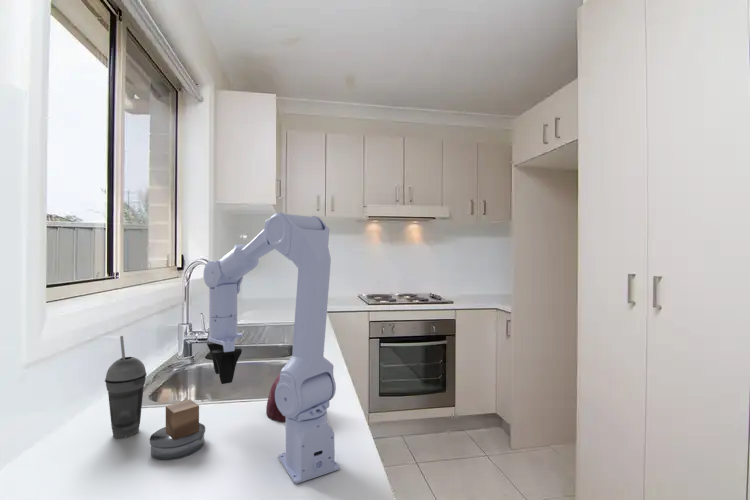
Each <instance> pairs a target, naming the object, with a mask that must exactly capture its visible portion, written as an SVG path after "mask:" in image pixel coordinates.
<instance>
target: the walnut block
mask: <svg viewBox="0 0 750 500" xmlns="http://www.w3.org/2000/svg"><path fill="white" fill-rule="evenodd" d="M199 423H200V405H199V404H197V403H196V402H194V401H193V400H191V399H186V400H183V401H179V402H175V403H172V404H168V405H165V427H166V433H167V434H168V435H169V436H170V437H171V438H172V439H173V440H175V439H178V438H181V437H184V436H187V435H190V434H193V433H196V432H199Z"/></svg>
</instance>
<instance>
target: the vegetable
mask: <svg viewBox="0 0 750 500" xmlns="http://www.w3.org/2000/svg"><path fill="white" fill-rule="evenodd" d="M279 380H280V373H279V374H278V375H277V377H276V378H275V379H274V382H273V383H272V386H271V388H270V390H269V394H268V397H267V402H266V406H265V407H266V408H265V409H266V411H265V412H266V413H265V414H266V417H267V418H268V419H270V420H271V421H275V422H281V423H286V417H285V416H283V415H282V413H281V412H280V411H279V409H278V407H277V405H276V402H275V390H276V386H277V384H278V383H279Z"/></svg>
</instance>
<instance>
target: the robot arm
mask: <svg viewBox="0 0 750 500" xmlns="http://www.w3.org/2000/svg"><path fill="white" fill-rule="evenodd" d="M264 221H265V222H264V227H263V229H262V230H261V231H260V232H259V233H257V235H256V236H255V237H254V238H253V239H251V241H250V242H249V243H247V244H243V243H242V244H241V243H239V244H238V243H236V244H235V245H234V246H233V249H231V250H230V251H229V252H228V253H226V254H224V255H223V256H222V258H221V259H219V260H213V259H212V260H208V261H207V263H206V264H205V265H204V268H203V280H204V284H205V285H206V287H208V288H209V289H208V292H209V293H208V294H209V295H208V298H209V299H208V300H209V301H208V302H209V304H208V313H209V314H208V315H209V317H208V319H209V320H208V325H209V326H208V328H209V329H208V331H209V332H208V333H209V334H208V338H207V340H208V342H206V345H207V348H208V349H209V351H210V355H211V358H212V363H213V368H214V373H215V374H216V375H219V380H220V384H221V385H225V384H231V383H233V380H234V376H235V371H236V366H237V363H238V361H239V358H240V356H241V355H242V350H243V349H241V348H235V347H236V346H235V345H236V344H235V343H236V342H237V340H238V339H240V338H244V333H242V332H238V294H240V291H241V283H242V282H243V280H244V277H245V276H246V275H247V274H249V273H250V272H251V271H253V270H254V269H256V268H257V266H258V265H259V262H260V258H262V257H263V256H266V255H267V254H269V253H271V252H272V251H273V250H275V251H277V252H278V253H280V254H281V255H282V256H284V257H285V258H286V259H288V260H289V261H292V262H293V264H294V265H295V267H296V268H297V283H296V295H295V309H294V311H295V312H294V322H293V324H294V325H293V338H292V340H293V341H292V350H291V351H292V353H291V357H290V358H289V360H288V361H287V362H286V363H285V365H284V366H283V367H282V368H281V370H280V373H279V374H280V380H279V383H278V384H277V386H276V390H275V402H276V405H277V407H278V409H279V411H280V412H281V413H282V415H283V416H285V417H286V422H285V452H283V453H279V454H278V457H277V458H278V460H279V461H280V463H281V464H282V466H283V467H284V469H285V470H286V473H287V474H288V475H289V477H290V479H291V481H293V484H299V483H304V482H306V481H309V480H311V479H314V478H318V477H321V476H323V475H326V474H330V473H333V472H336V471H339V470H340V465H339V464H338V462H337V461H336V460H335V432H334V430H333V428H332V427H331V425H330V424H329V422H328V412H327V411H328V408H330V401H331V400H332V399H333V398H334V397H335V394H336V391H337V390H336V389H337V387H336V386H337V385H336V380H335V376H334V364H333V363H332V362H331V361H330V360H328V359H327V358H326V357H324V355H325V354H324V352H325V343H326V342H325V341H326V339H325V338H326V328H327V314H328V313H327V312H328V303H329V302H328V301H329V299H328V298H329V291H330V290H329V288H330V277H331V276H330V275H331V273H330V272H331V263H332V262H331V254H330V250H329V240H330V228H329V227H328V226H327V224H326V223H325V222H324V221H323V219H321V217H319V216H315V215H313V216H308V215H307V216H306V215H299V214H291V213H290V214H289V213H284V212H276V213H273V214H272V215H271V216H270V218H267V219H266V220H264Z"/></svg>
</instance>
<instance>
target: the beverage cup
mask: <svg viewBox="0 0 750 500" xmlns="http://www.w3.org/2000/svg"><path fill="white" fill-rule="evenodd" d="M119 339H120V349H121V357H120V358H119V359H117V360H116V361H114V362H113V363H112V364H111V365H110V366H109V367H108V370H107V371H106V374H105V379H104V383H105V387H106V390H107V396H108V405H109V415H110V423H111V424H110V426H111V430H112V431H111V432H112V437H113V438H114V439H125V438H129V437H132V436H134V435H136V434H137V433H139V431H140V425H141V417H142V416H141V415H142V406H143V397H144V395H143V394H144V385H145V383H146V379H147V378H146V377H147V371H146V366H145V364H144V363H143V361H142V360H140V359H139V358H136V357H132V356H126V352H125V344H124V336H123V335H121V336H119Z"/></svg>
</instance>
